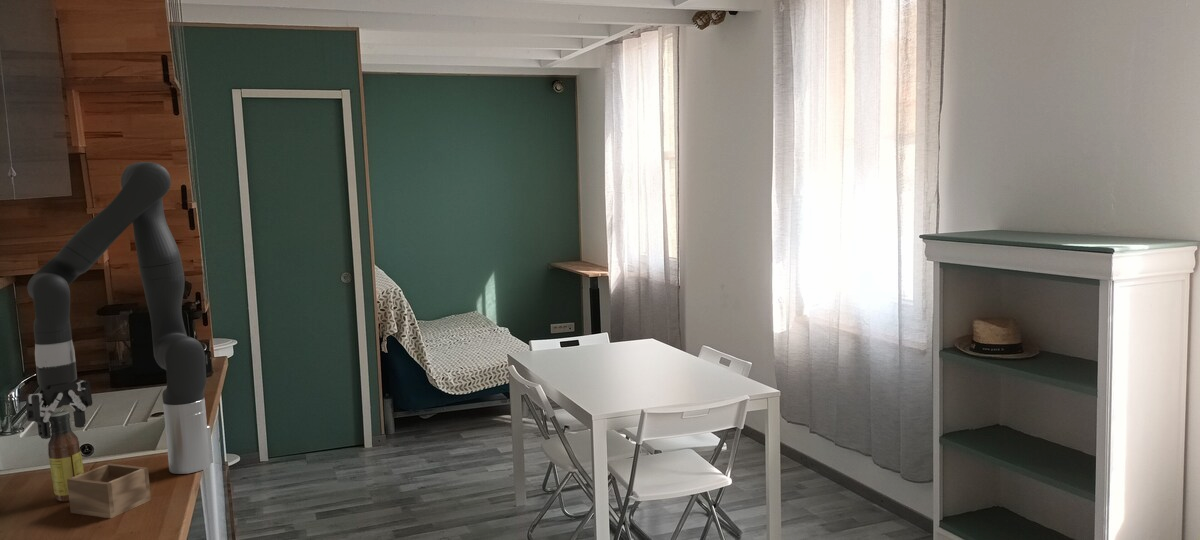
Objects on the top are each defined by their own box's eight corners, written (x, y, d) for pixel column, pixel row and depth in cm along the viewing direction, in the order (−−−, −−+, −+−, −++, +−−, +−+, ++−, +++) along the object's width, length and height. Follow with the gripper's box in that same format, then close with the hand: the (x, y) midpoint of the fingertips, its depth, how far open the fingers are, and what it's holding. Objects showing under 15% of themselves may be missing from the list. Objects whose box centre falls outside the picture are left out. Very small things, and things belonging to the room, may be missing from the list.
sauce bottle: (80, 490, 202) (71, 407, 200) (91, 496, 198) (82, 411, 196) (49, 499, 197) (39, 413, 195) (59, 505, 193) (50, 418, 191)
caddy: (112, 495, 199) (108, 463, 198) (151, 500, 195) (147, 467, 194) (70, 512, 189) (66, 479, 188) (110, 518, 185) (107, 484, 184)
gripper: (72, 354, 202) (78, 422, 204) (12, 368, 189) (20, 441, 190) (96, 355, 199) (103, 424, 201) (38, 369, 186) (45, 443, 188)
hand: (63, 432), depth 196 cm, fingers open, 8 cm apart
